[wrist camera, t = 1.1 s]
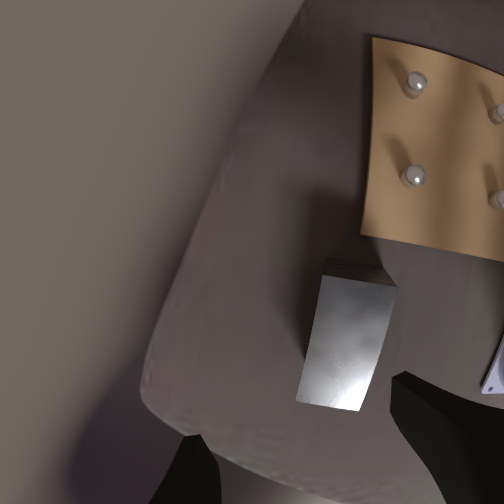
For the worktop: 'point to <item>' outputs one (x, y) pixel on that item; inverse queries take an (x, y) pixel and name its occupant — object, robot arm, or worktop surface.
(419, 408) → the robot arm
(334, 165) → the worktop surface
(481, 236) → the pin tray
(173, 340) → the worktop surface
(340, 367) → the plate
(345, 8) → the worktop surface
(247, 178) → the worktop surface
